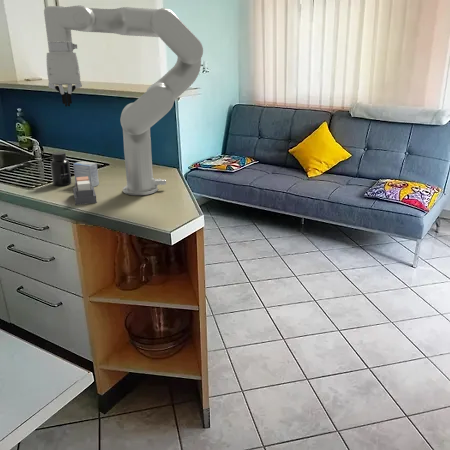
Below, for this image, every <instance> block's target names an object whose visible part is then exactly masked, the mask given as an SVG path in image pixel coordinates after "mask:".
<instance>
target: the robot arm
mask: <svg viewBox="0 0 450 450" xmlns="http://www.w3.org/2000/svg"><path fill="white" fill-rule="evenodd" d="M43 15H44V23H45V32H46V39H47V46H48V52H46V71H47V72H46V75H47V80H48V85H47V86H48V88H49V89H52V90H56V91H57V92H58V93H60V94H61V101H62V104H63V105H64V106H65V107H71V104H73V101H72V93H73V92H74V91H75V90H77V89H80V88H82V86H83V84H82V82H81V73H80V66H79V62H78V61H79V60H78V57H77V53H76V52H74V50H75V49H78V44H75V43H73V39H72V31H76V32H77V31H78V32H83V33H84V32H85V33H103V34H116V35H120V36H133V37H134V36H135V37H150V38H160V40H161V41H162V42H163V43H164V44H165V45H166V46H167V48H169V50H171V51H172V52H173V53H174V54H175V56H176V57H177V58H176V59H177V60H176V63H174V65H173V66H172V68H170V69H169V70H168V72H166V73H165V74H164V75H163V76H162V77H160V78H159V79H158V80H157V81H155V82H154V83H153V84H151V85H150V86H149V87H148V88H147V89H146V91H145V92H144V93H143V94H142V95H141V96H139V97H138V98H137V99H136V100H135V101H134V102H130V103H128V104H126V105H125V106H124V108H123V109H122V111H121V114H120V121H119V122H120V125H121V128H122V136H123V153H124V165H125V176H126V178H125V179H126V185H125V186H123V188H122V191H123V194H125V195H129V196H147V195H151V194H155V193H156V192H157V191H158V190H159V189H158V185H161V186H162V185H167V180H166V179H165V178H164V179H162V178H154V175H153V161H152V160H153V157H152V140H151V138H152V137H151V128H152V127H153V126H154V125H155V124H156V123H158V122H159V121H160V120H161V119H162V118H164V117H165V116H166V115H167V114H168V113H169V112H170V111H171V109H172V108H173V107H174V103H175V101H176V100H177V98H179V97H181V95H183V94H184V93H185V92H186V91H187V90H188V89H189V88H190V87H191V86H192V85H193V84H194V83H195V82H196V80H197V78H198V76H199V74H200V71H201V67H202V57H203V54H204V46H203V44H202V42H201V41H200V40H199V38H198V37H197V36H196V35H195V34H194V33H193V32H192V31H191V30H190V29H189V27H187V26H186V25H185V24H184V22H183V21H181V20H180V18H179V17H178V16H177V15H176V14H175V12H174V11H172V10H171V9H169V8H165V7H164V8H163V7H162V8H143V7H131V6H124V7H123V6H122V7H119V8H96V7H95V8H93V7H87V6H85V5H72V6H60V5H59V6H58V5H50V6H49V5H48V6H45V7H44V10H43ZM63 85H67V91H65V89H64V87H63Z"/></svg>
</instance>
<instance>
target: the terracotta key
mask: <svg viewBox="0 0 450 450" xmlns="http://www.w3.org/2000/svg"><path fill="white" fill-rule="evenodd" d="M76 180H77V181H88V180H89V179H88V176H86V177H76Z"/></svg>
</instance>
